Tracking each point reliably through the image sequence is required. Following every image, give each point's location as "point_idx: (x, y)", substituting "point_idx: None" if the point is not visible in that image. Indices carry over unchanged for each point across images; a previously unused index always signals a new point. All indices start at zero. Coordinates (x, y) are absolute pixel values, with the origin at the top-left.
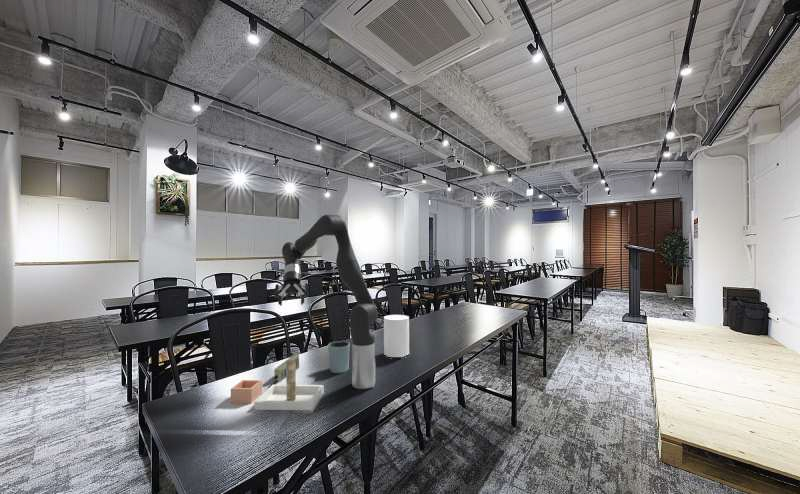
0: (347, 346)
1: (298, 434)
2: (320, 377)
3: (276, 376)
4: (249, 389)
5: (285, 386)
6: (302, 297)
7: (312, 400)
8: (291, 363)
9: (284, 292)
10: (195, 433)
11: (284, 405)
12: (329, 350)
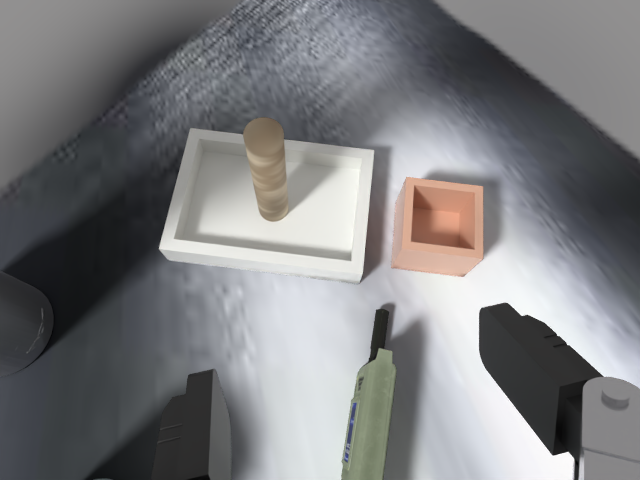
0: None
1: (219, 63)
2: None
3: (376, 354)
4: (413, 178)
5: (308, 256)
6: (184, 438)
7: (190, 141)
8: (257, 121)
9: (580, 474)
10: (471, 90)
11: None
12: None
